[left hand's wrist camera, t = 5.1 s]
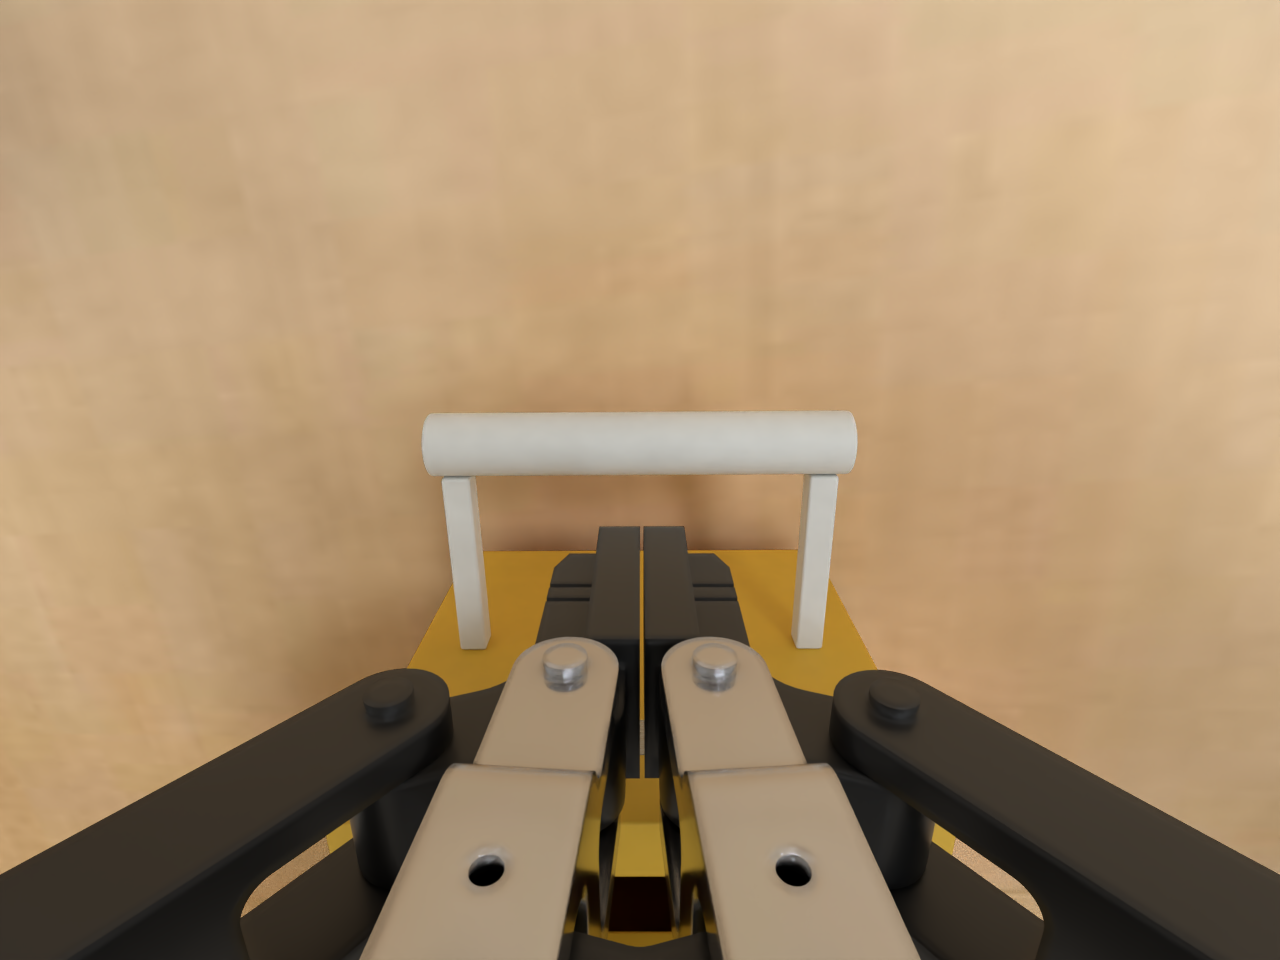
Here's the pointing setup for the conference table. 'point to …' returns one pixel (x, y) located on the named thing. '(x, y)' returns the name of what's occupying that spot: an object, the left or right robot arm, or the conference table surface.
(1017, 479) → the conference table surface
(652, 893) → the drawer
